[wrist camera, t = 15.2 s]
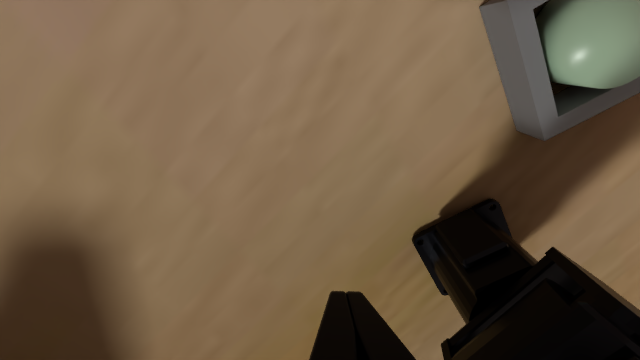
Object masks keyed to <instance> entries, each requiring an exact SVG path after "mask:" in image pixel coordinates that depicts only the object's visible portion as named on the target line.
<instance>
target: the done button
mask: <svg viewBox="0 0 640 360" xmlns="http://www.w3.org/2000/svg"><path fill="white" fill-rule="evenodd" d="M536 25H537V29H538V33H539V37H540V42H541V46H542V50H543V54H544V59H545V63H546V67H547V71H548V76H549V80H550V82H552V83H560V84H568V85H575V86H583V87H590V88H598V89H609V88H615V87H619V86H622V85H624V84H627V83H629V82H631V81H633V80H634V79H636V78H638V77H639V76H640V0H550V1H549V2H548V3H547V4H546V5H545V7H544V8H543V9H542V10H541V12H540V13H539V15H538V16H537V18H536Z"/></svg>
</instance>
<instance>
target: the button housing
mask: <svg viewBox="0 0 640 360" xmlns="http://www.w3.org/2000/svg"><path fill="white" fill-rule="evenodd" d="M546 1H548V0H490V1H488V2H487V3H485V4H483V5H482V6H480V7H479V8H480V11H481V15H482V18H483V21H484V24H485V28H486V31H487V34H488V38H489V41H490V44H491V48H492V51H493V54H494V57H495V61H496V64H497V67H498V71H499V74H500V77H501V80H502V84H503V87H504V90H505V94H506V97H507V100H508V104H509V107H510V110H511V113H512V117H513V120H514V123H515V127H516V130H517V131H519V132H522V133H524V134H527V135H530V136H532V137H535V138H538V139H540V140H543V141H546V140H548V139H550V138H552V137H554V136H556V135H558V134H559V133H561V132H563V131H565V130H567V129H569V128H571V127H573V126H575V125H577V124H579V123H581V122H583V121H585V120H587V119H589V118H591V117H593V116H595V115H597V114H599V113H601V112H603V111H605V110H607V109H609V108H611V107H613V106H614V105H616V104H618V103H620V102H622V101H624V100H626V99H628V98H630V97H632V96H634V95H636V94H638V93H640V76H639V77H638V78H636V79H634V80H633V81H631V82H629V83H627V84H624V85H622V86H619V87H615V88H609V89H598V88H590V87H583V86H575V85H572V86H571V87H569V88H567V89H565V90H563V91H561V92H559V93H557V94H556V95H554V96H553V92H552V88H551V84H550V80H549V76H548V71H547V67H546V63H545V59H544V54H543V50H542V46H541V42H540V37H539V33H538V29H537V25H536V20H535V16H534V12H533V9H534V8H536V7H537V6H539V5H541V4H543V3H544V2H546Z"/></svg>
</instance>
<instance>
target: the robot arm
mask: <svg viewBox="0 0 640 360" xmlns="http://www.w3.org/2000/svg"><path fill="white" fill-rule="evenodd" d="M491 205H493V206H492V207H490V206H491ZM489 207H490V208H489ZM419 240H421V241H420V242H418V241H419ZM412 242H413V244H414V246H415V248H416V250H417V251H418V253H419V255H420V257H421V259H422V261H423V262H424V264H425V266H426V268H427V270H428V271H429V273H430V275H431V277H432V279H433V280H434V282H435V284H436V286H437V288H438V289H439V291H440V293H441V294H442V295H449V296H450V298H451V300H452V301H453V303H454V305H455V306H456V308H457V310H458V311H459V313H460V315H461V316H462V318H463V320H464V321H465V323H466V325H465V326H464V327H463V328H461V329H460V330H459V331H458V332H457V333H456V334H454V335H453V336H452V337H451V338H450V339H448V338H447V339H446V340H445V341H444V342H443V343H441V347H442V352H443V357H444V360H640V310H639V309H638V308H636V307H635V306H634V305H632V304H631V303H630V302H628V301H627V300H626V299H624V298H623V297H622V296H621V295H619V294H618V293H617V292H615V291H614V290H613V289H611V288H610V287H609V286H607V285H606V284H605V283H603V282H602V281H601V280H599V279H598V278H597V277H595V276H594V275H592V274H591V273H589V272H588V271H587V270H585V269H584V268H582V267H581V266H580V265H578V264H577V263H575V262H574V261H572V260H571V259H570V258H568V257H567V256H565V255H564V254H563V253H561V252H560V251H558V250H557V249H556V248H554V247H552V248H550V249H549V250H548V251H547V252H546V253H545V254H546V256H544V257H543V258H542V259H541V260H540V261H539V262H538V261H537V260H536V259H535V258H533V257H532V256H531V255H530V254H529V253H528V252H527V251H526V250H525V249H523V248H522V247H521V246H520V245H519V244H518V243H517V242H516V241H515V240H514V239H512V236H511V233H510V231H509V228H508V225H507V223H506V220H505V217H504V215H503V212H502V209H501V206H500V204H499V203H498V202H497V201H496V200H495V199H487V200H485V201H483V202H481V203H479V204H477V205H475V206H473V207H471V208H469V209H467V210H465V211H463V212H461V213H459V214H457V215H455V216H453V217H451V218H449V219H447V220H445V221H443V222H441V223H439V224H436V225H434V226H432V227H430V228H428V229H426V230H424V231H422V232H420V233H418V234H416V235H415V236H414V237H413V238H412ZM309 360H416V359H415V358H414V357H413V355H412V354H411V353H410V352H409V350H408V349H407V348H406V347H405V345H404V344H403V343H402V342H401V341H400V339H399V338H398V337H397V336H396V334H395V333H394V332H393V331H392V329H391V328H390V327H389V326H388V324H387V323H386V322H385V321H384V320H383V318H382V317H381V316H380V315H379V313H378V312H377V311H376V310H375V308H374V307H373V306H372V305H371V303H370V302H369V301H368V300H367V299H366V297H365V296H364V295H363V294H362V293H361V292H354V291H348V292H346V293H345V292H344V291H332V292H331V293H330V295H329V298H328V301H327V305H326V308H325V311H324V314H323V317H322V320H321V324H320V327H319V330H318V333H317V336H316V340H315V343H314V346H313V349H312V352H311V355H310V359H309Z"/></svg>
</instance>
